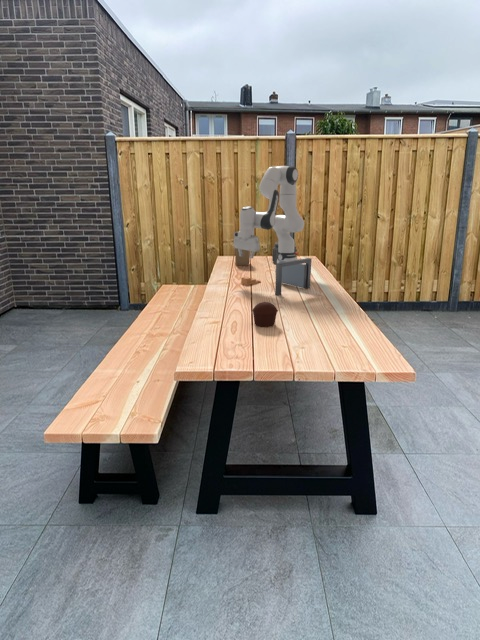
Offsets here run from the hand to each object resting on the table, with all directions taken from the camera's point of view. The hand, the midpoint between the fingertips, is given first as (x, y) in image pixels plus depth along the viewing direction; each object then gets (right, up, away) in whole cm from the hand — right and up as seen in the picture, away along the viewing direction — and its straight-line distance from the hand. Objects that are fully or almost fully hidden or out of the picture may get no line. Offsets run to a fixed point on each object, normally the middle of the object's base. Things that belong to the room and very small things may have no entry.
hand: (246, 257), depth 278 cm
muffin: (+7, -41, -72) cm, 83 cm away
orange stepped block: (+3, -15, +8) cm, 17 cm away
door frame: (+27, -22, -13) cm, 37 cm away
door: (+28, -17, +1) cm, 33 cm away
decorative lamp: (+30, +6, +75) cm, 81 cm away
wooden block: (-2, +3, +67) cm, 67 cm away
